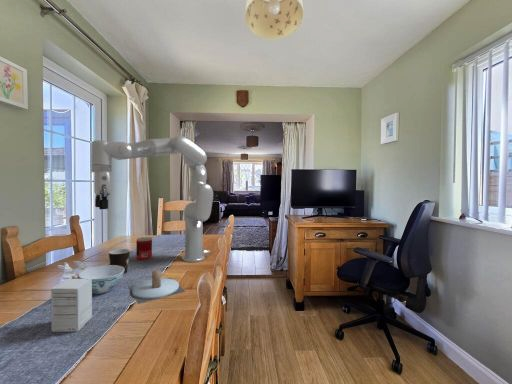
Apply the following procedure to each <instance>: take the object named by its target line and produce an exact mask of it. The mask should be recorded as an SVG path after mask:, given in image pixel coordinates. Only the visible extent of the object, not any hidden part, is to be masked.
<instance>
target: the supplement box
mask: <svg viewBox="0 0 512 384" xmlns="http://www.w3.org/2000/svg"><path fill="white" fill-rule="evenodd" d="M50 295H51V296H50V297H51V298H50V300H51V301H50V303H51V304H50V305H51V308H50V309H51V310H50V311H51V318H50V319H51V332H52V333H62V332H63V333H64V332H65V333H66V332H69V333H70V332H79V331H80V330H81V329H82V328H83V327H84V326H85V325H87V323H88V321H90V319H92V317H93V293H92V279H79V278H67V279H65V280H64V281H62V282H61V283H58V284H57V285H55V286H53V287H51V289H50Z"/></svg>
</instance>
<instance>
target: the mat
mask: <svg viewBox="0 0 512 384" xmlns="http://www.w3.org/2000/svg"><path fill="white" fill-rule="evenodd" d="M166 279H172V278H171V277H167V278H166ZM136 285H137V284H135V285H129V286H128V289H129V291H130V292H131V294H132V289H133V287H134V286H136ZM185 292H187V291H186V290H184V288H182V287H181V285H179V289H178V290H177V291H176V292H175V293H173V294H171V295H169V296H166V297H170V296H174V295H179V294H182V293H185ZM132 296H133V298H134V299H135V301H136V302H137V303H138V304H142V303H147V302H150V301H156V300H158V299H159V300H160V298H157V299H141V298H137V297H135V296H134V295H133V294H132ZM166 297H165V298H166ZM163 298H164V297H162V298H161V299H163Z"/></svg>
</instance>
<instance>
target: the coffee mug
mask: <svg viewBox="0 0 512 384" xmlns="http://www.w3.org/2000/svg"><path fill="white" fill-rule="evenodd" d="M130 252H131V251H130V249H127V248H117V249H113V250H109V251H108V257H109V258H108V259H109V264H110V265H117V266H122V267H123V268H124V274H123V275H125V274H126V273H128V268H129V262H130V261H129V260H130Z"/></svg>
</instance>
